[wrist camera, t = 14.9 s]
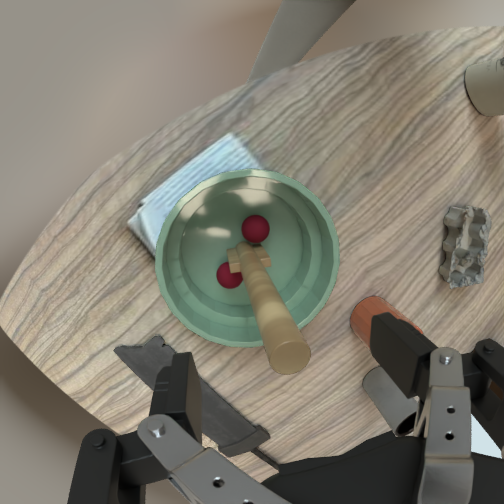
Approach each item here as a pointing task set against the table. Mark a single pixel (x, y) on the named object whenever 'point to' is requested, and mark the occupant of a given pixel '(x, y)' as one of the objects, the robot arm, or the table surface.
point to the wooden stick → (269, 310)
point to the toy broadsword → (213, 407)
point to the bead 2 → (255, 228)
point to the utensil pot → (364, 314)
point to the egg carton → (465, 246)
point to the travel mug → (486, 86)
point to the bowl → (229, 235)
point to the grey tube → (391, 401)
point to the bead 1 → (228, 277)
